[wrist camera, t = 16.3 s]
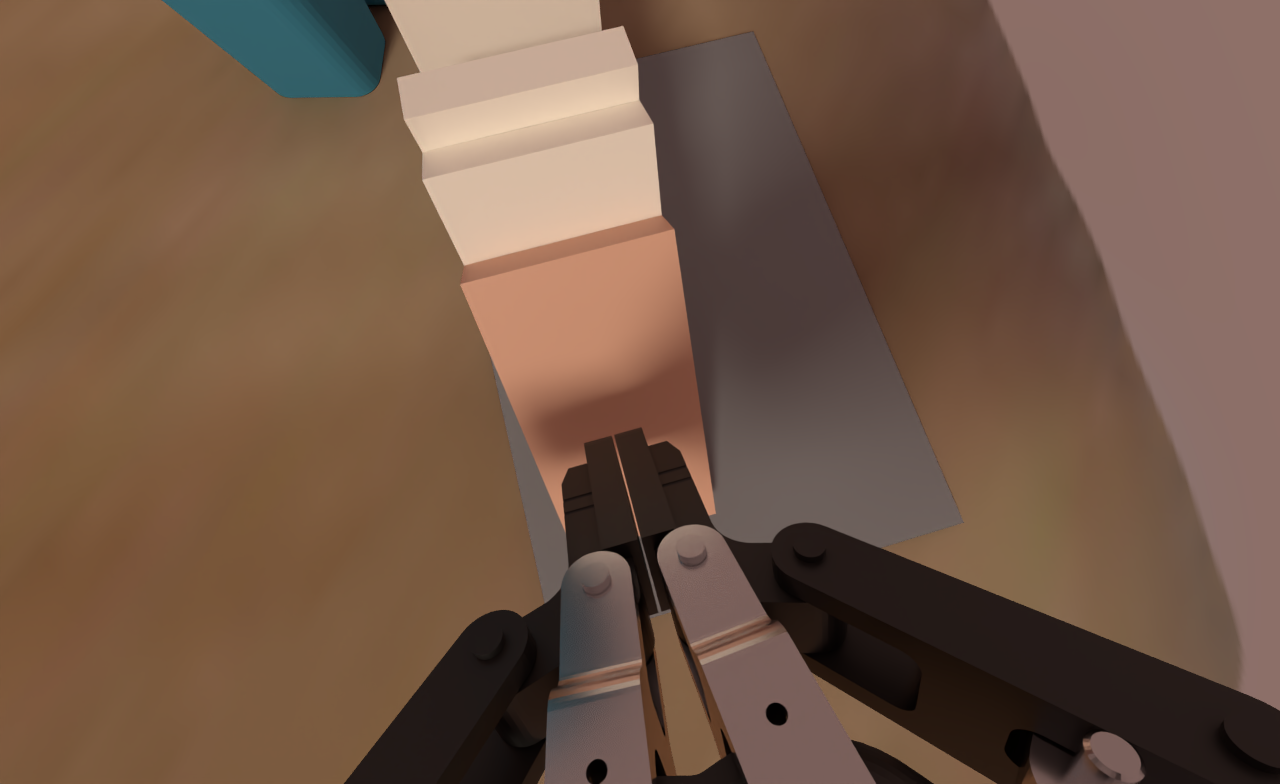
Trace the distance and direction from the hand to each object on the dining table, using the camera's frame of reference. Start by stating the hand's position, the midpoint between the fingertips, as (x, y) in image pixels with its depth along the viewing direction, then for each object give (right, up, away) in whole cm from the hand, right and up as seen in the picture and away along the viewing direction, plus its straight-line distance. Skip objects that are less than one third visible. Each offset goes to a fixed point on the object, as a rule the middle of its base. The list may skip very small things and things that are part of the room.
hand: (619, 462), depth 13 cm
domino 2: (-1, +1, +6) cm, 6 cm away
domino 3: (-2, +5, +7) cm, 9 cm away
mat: (+2, +6, +8) cm, 10 cm away
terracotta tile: (+1, -3, +5) cm, 6 cm away
